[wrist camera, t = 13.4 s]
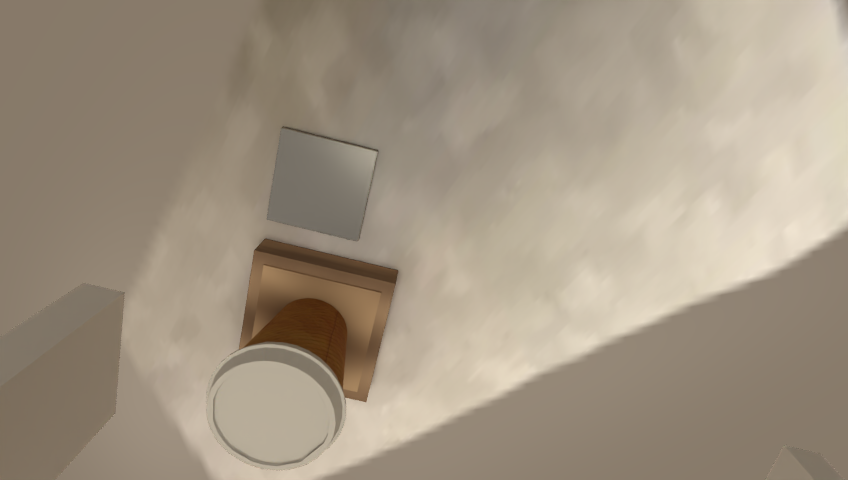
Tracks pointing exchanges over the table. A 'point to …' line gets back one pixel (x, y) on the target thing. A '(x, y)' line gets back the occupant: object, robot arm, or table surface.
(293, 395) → the disposable coffee cup
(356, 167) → the slate coaster
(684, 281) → the table surface
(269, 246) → the walnut base
